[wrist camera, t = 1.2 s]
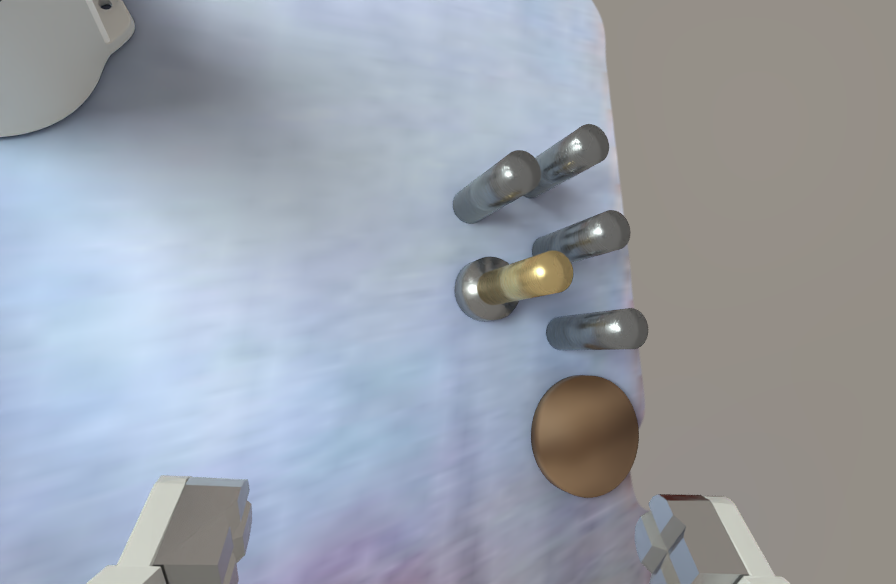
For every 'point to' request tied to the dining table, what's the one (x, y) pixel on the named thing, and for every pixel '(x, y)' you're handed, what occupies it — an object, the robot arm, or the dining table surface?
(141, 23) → the dining table surface
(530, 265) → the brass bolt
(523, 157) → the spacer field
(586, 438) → the walnut plate
